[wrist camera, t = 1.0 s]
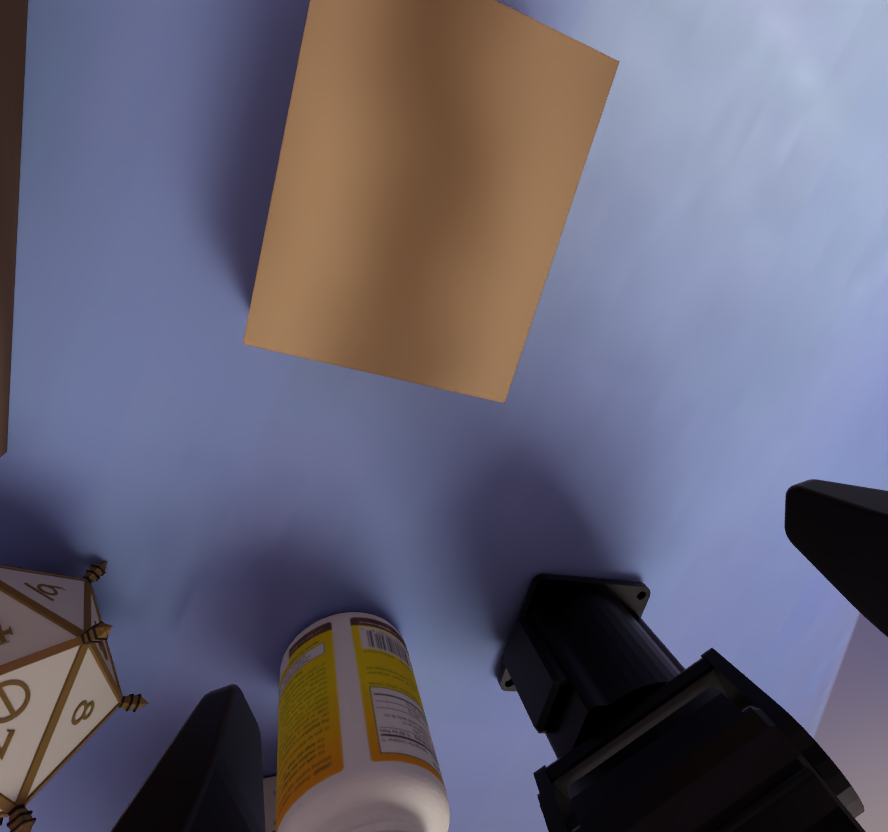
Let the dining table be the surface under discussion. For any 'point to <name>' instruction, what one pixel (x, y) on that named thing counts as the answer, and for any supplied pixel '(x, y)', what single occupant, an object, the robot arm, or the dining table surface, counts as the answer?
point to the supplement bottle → (354, 734)
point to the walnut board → (9, 180)
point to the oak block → (423, 188)
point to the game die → (50, 680)
